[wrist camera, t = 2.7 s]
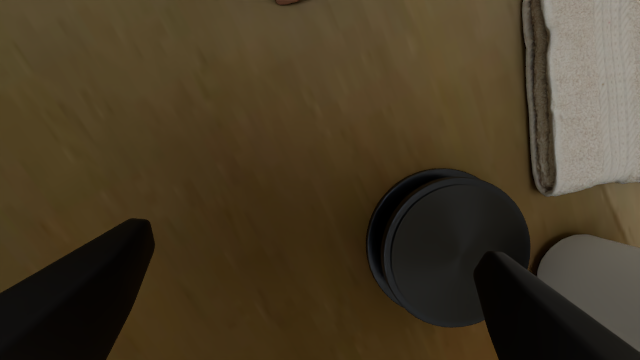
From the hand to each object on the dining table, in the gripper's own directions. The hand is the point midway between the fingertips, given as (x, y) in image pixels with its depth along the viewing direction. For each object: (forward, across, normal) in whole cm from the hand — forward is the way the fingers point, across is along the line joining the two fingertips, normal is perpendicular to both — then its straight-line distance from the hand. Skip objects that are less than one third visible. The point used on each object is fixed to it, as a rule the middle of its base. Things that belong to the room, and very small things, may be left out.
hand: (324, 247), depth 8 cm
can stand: (+12, -11, +10) cm, 19 cm away
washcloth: (+19, -22, -2) cm, 29 cm away
